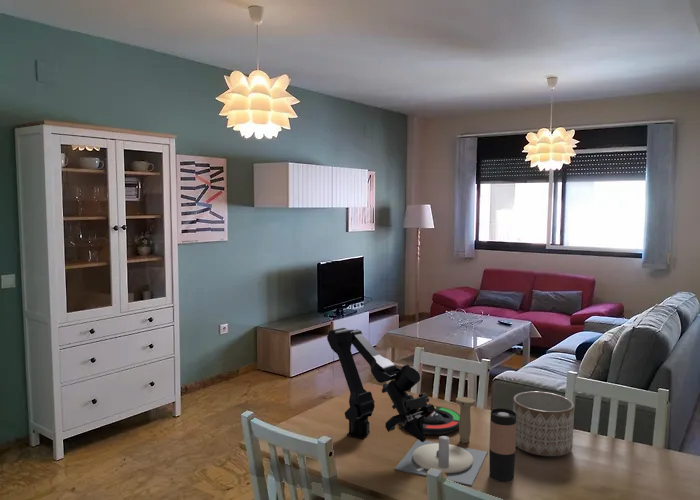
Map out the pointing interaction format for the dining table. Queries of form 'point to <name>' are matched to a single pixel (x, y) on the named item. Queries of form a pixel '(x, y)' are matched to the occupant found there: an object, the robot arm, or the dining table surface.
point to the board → (459, 477)
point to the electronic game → (441, 421)
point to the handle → (465, 418)
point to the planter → (544, 423)
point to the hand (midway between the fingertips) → (424, 441)
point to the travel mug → (502, 444)
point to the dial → (443, 456)
